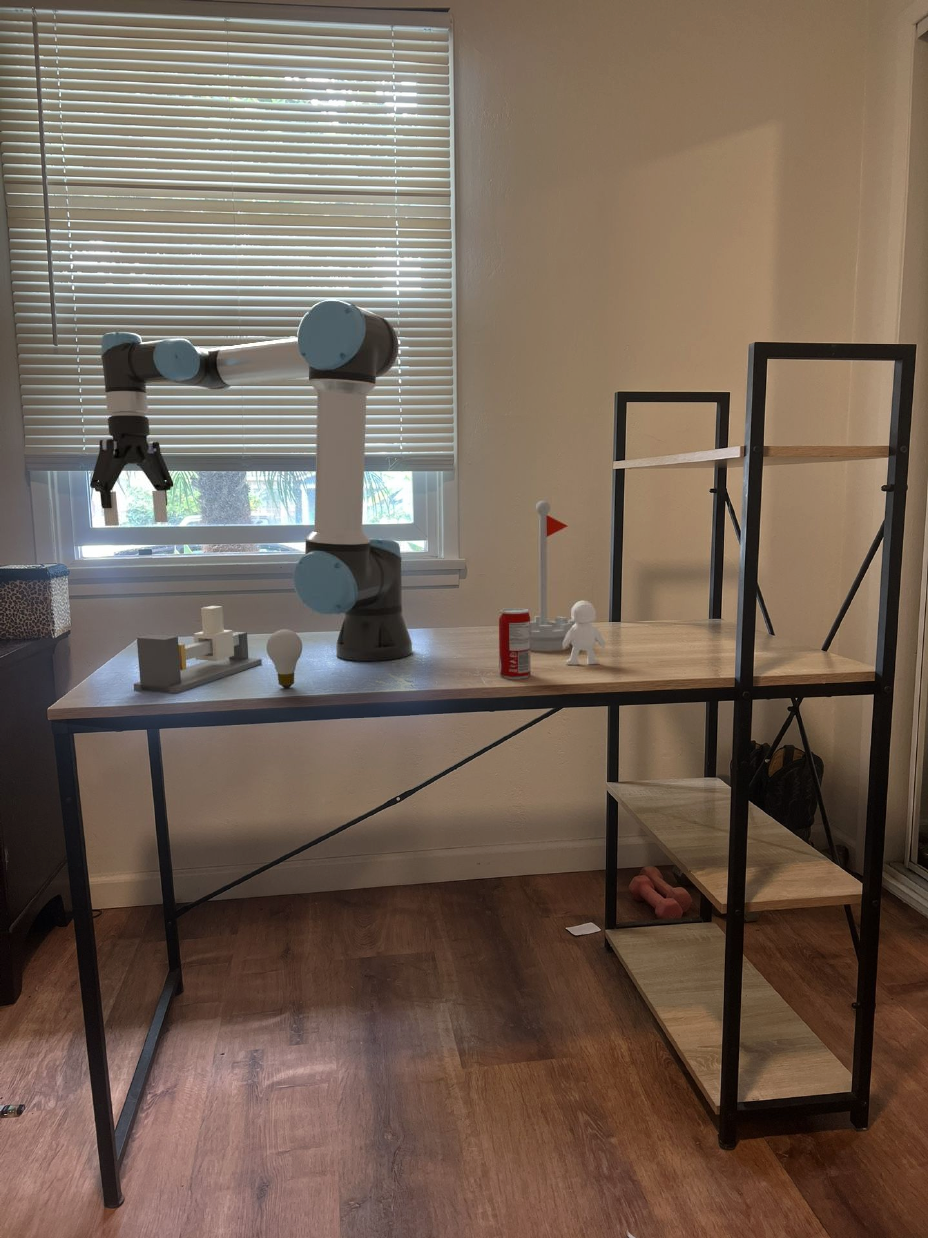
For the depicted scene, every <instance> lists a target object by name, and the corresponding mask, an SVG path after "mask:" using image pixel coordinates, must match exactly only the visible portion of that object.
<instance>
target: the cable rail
mask: <svg viewBox="0 0 928 1238" xmlns="http://www.w3.org/2000/svg"><path fill="white" fill-rule="evenodd" d="M248 641H249V640H248V631H247V632H244V631H243V632H242V631H233V644H234V656H232V657H228V658H225V659H222V660H219V661H210V660H205V661H203V662H200V663H196V664H193V665H190V666H187V661H188V660H191V659H196V658H195V657H199V656H202V655H205V654H209V653H212V652H213V645H212V639H208V640H205V641H201V642H197V643H191V644H187V645H186V644H185V643H179V637H178V636H176V635H175V636H174V635H160V634H159V635H158V634H146V635H143V636H139V637H136V645H137V658H138V659H137V660H138V669H139V682H134V683H133V690H135V691H136V690H137V691H144V692H145V691H148V692H159V693H169V694H179V693H182V692H185V691H188V690H192V689H193V688H196V687H200V686H202V685H206V684H208V683H210V682H214V681H216V680H220V679H223V678H225V677H228V676H232V675H234V674H237V673H240V672H243V671H246V670H248V669H251V668H254V667H257V666H259V665H262V663H263V660H262V659H263V658H253V657H249V644H248Z"/></svg>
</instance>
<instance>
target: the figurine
mask: <svg viewBox="0 0 928 1238" xmlns="http://www.w3.org/2000/svg"><path fill="white" fill-rule="evenodd" d="M570 610H571V611H570V614H571V615H570V616H571V618H570V619H572V620H573V621H574V622H575V624H574V625H573V626H572V628H571V629H570V630H569V631H568V632H567V634H566V636H565V638H564V641H563V643H562V645H563V649H564V648H565V647H567V646H568V645H569V644H570V645H572V649H571V653H570V657H569V659H567V660H566V661H565V663H566V665H576V666H577V665H579V653H580V651H586V656H587V658H586V659H587V660H586V664H587V665H594V664H596V665H597V664H598V665H599V664H600V660H599V659H598V658H596V656H595V651H594V646H595V645H596V643H597V644H599V645H600V646H601V647H602V649H605V647H606V641H605V638H604V637H603V635H602V633H601V631H600V630H599V629H598V627H596V626H594V625H593V624H592V622H595V621H597V617H596V616H597V615H596V614H597V613H596V612H597V611H596V609H595V607H594V605H593V604H592V603H591V602H589V601H587V600H580V601H577V602H576V603H575V604H574V605H573V606H572V607H571V609H570ZM564 650H565V649H564Z"/></svg>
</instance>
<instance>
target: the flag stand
mask: <svg viewBox="0 0 928 1238" xmlns="http://www.w3.org/2000/svg"><path fill="white" fill-rule="evenodd" d="M535 510H536V512H537V514H539V520H538V521H539V523H538V524H539V526H538V527H539V528H538V529H539V530H538V531H539V541H538V543H539V544H538V545H539V549H538V550H539V561H538V562H539V563H538V564H539V615H535V616H534V620H533V621H530V650H533V651H532V652H553V651H552V650H557V651H563V650H567V649H569V648H570V646H571V643H570V644H569V645H568V646H567V647H565V648H564V649H563V645H562V643H563V641H564V638H565V636H566V634H567V632H568V631H569V630H570V629H571V628H572V626H573V625H574V624H575V623H576V622H574V621H573V620H572V618H570V619H568V617H565V616H555V621H552V620H551V621H548V537H550V536H552V535H553V534H556V533H557V532H559V531H561V530H563V529H566V528H567V527H568V524H565V523H563V522H561V521H559V520H557V519H556V518H554V517H552V516H549V515H548V514H549V513H550V511H551V505H550V503H549V502H548V501H546V500H540V501H538V502H537V503H536V505H535Z"/></svg>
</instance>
